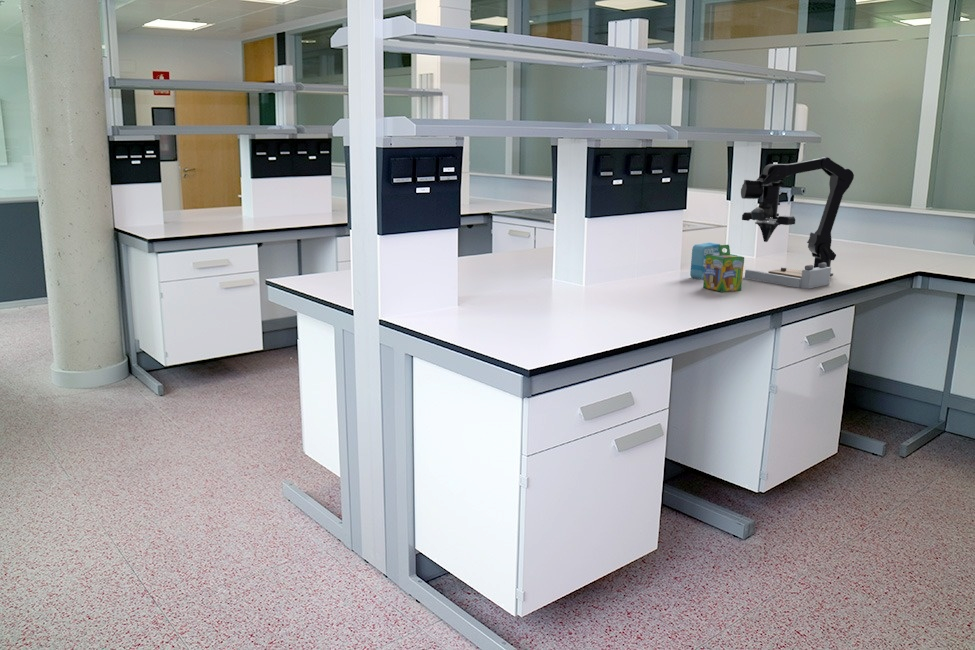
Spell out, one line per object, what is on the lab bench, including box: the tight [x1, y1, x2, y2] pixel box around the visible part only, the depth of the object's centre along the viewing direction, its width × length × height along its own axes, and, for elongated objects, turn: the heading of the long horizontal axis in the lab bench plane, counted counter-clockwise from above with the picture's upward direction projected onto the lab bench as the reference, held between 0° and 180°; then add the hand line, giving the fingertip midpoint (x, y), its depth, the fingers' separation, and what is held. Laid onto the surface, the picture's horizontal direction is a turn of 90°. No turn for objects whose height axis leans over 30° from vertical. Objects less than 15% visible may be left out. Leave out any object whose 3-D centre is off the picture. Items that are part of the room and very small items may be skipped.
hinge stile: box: [799, 262, 832, 289], centre depth 274 cm, size 14×3×8 cm, turn 130°
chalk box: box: [702, 244, 745, 293], centre depth 264 cm, size 9×9×15 cm
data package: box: [689, 242, 721, 280], centre depth 285 cm, size 12×4×12 cm, turn 132°
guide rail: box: [744, 269, 801, 289], centre depth 279 cm, size 2×21×3 cm, turn 40°
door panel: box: [767, 267, 802, 278], centre depth 280 cm, size 11×13×5 cm
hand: (765, 241), depth 294 cm, fingers closed
